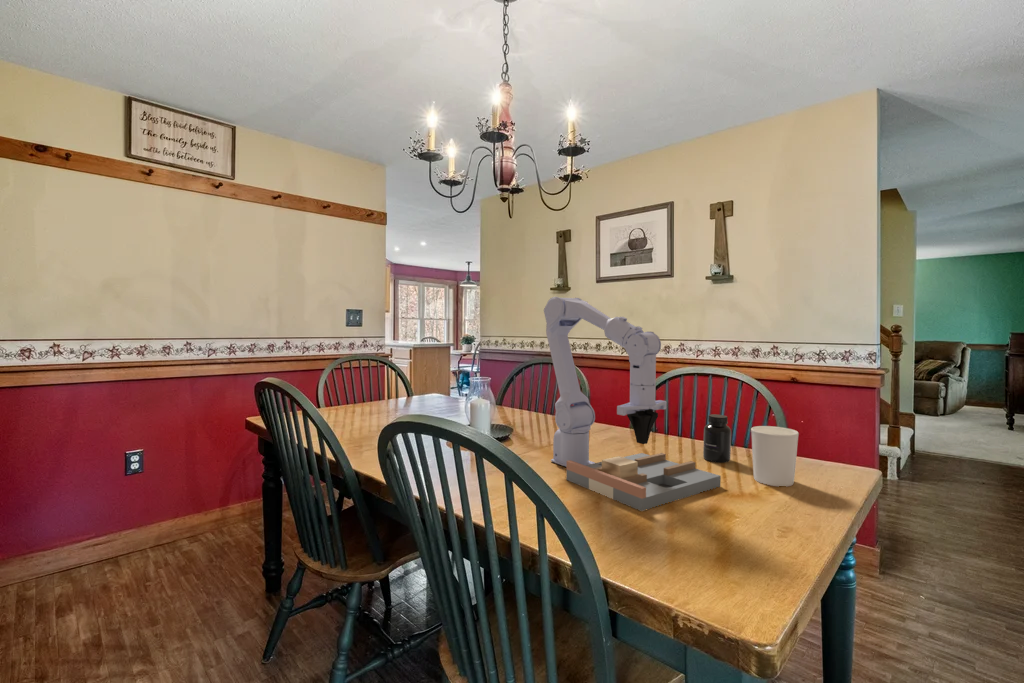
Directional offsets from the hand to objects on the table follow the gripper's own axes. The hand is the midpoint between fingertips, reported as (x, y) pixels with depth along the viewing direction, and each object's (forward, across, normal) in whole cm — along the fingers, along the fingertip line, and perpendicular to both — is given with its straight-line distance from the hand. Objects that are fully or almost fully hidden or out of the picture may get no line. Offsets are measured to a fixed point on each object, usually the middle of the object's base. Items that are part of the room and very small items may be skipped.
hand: (642, 443), depth 111 cm
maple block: (+7, -8, 0) cm, 10 cm away
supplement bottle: (+10, +32, +2) cm, 33 cm away
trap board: (+9, 0, 0) cm, 9 cm away
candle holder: (+10, +27, -16) cm, 33 cm away
